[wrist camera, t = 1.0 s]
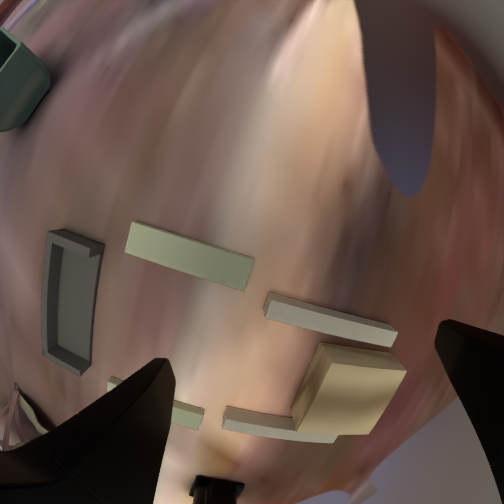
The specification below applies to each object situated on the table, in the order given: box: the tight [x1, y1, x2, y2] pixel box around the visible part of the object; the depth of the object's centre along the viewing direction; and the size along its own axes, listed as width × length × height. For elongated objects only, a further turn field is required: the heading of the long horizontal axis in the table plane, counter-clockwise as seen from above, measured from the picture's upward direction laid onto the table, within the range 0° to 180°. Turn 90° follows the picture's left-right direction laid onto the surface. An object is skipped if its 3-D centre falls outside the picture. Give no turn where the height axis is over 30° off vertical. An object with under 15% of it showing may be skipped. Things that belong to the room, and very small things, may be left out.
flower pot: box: [0, 27, 50, 132], centre depth 14 cm, size 9×9×9 cm
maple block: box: [291, 342, 407, 435], centre depth 22 cm, size 8×8×4 cm
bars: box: [107, 221, 254, 430], centre depth 22 cm, size 18×10×1 cm, turn 162°
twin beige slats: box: [222, 292, 398, 443], centre depth 22 cm, size 14×12×2 cm
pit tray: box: [41, 229, 105, 377], centre depth 20 cm, size 13×5×2 cm, turn 162°
